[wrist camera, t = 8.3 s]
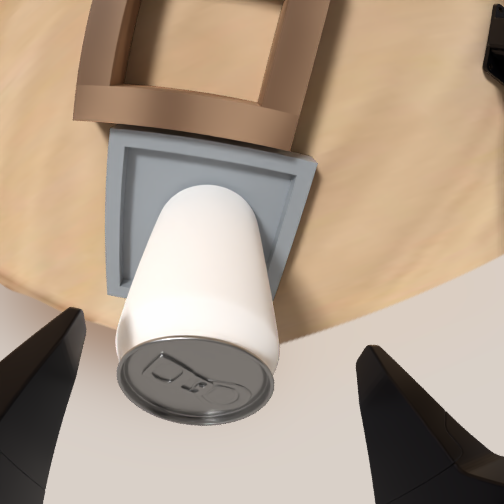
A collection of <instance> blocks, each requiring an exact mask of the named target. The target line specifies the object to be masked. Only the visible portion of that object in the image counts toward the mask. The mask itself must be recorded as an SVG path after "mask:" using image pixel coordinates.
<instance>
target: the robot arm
mask: <svg viewBox="0 0 504 504" xmlns="http://www.w3.org/2000/svg"><path fill="white" fill-rule="evenodd" d="M489 66H490V68H489ZM483 67H484V70H485V71H486V72H487V73H488V74H490V75H491V76H492V77H494V78H495V79H496V80H498V81H499V82H500V83H501V84H503V85H504V7H503V6H502V5H500V4H494V5H493V11H492V19H491V25H490V31H489V37H488V43H487V48H486V53H485V58H484V63H483ZM85 336H86V324H85V319H84V313H83V311H82V309H79V308H74V307H69V308H68V309H66V310H65V311H64V312H62V313H61V314H60V315H58V316H57V317H56V318H54V319H53V320H52V321H51V322H49V323H48V324H47V325H45V326H44V327H43V328H41V329H40V330H39V331H38V332H36V333H35V334H34V335H32V336H31V337H30V338H29V339H28V340H26V341H25V342H24V343H22V344H21V345H20V346H19V347H17V348H16V349H15V350H14V351H12V352H11V353H10V354H9V355H8V356H7V357H5V358H4V359H3V360H2V361H1V362H0V504H43V500H44V495H45V489H46V484H47V479H48V475H49V470H50V466H51V462H52V458H53V454H54V449H55V446H56V442H57V438H58V434H59V431H60V427H61V424H62V420H63V417H64V414H65V410H66V407H67V404H68V401H69V397H70V394H71V391H72V388H73V385H74V382H75V379H76V375H77V370H78V366H79V361H80V357H81V353H82V349H83V344H84V340H85ZM356 372H357V384H358V394H359V404H360V411H361V416H362V421H363V427H364V432H365V438H366V443H367V450H368V455H369V462H370V468H371V474H372V482H373V489H374V496H375V503H376V504H504V457H503V456H499V455H497V454H494V453H493V452H491V451H490V450H489V449H487V448H486V447H485V446H484V445H483V444H482V443H480V442H479V441H478V440H477V439H476V438H474V437H473V436H472V435H471V434H470V433H469V432H467V431H466V430H465V429H464V428H463V427H462V426H461V425H460V424H459V423H457V422H456V421H455V420H454V419H453V418H452V417H451V416H450V415H449V414H448V413H447V412H446V411H445V410H444V409H443V408H442V407H441V406H440V405H439V404H438V403H437V402H436V401H435V400H434V399H433V398H432V397H431V396H430V395H429V394H428V393H427V392H426V391H425V390H424V389H423V388H422V387H421V386H420V385H419V384H418V383H417V382H416V381H415V380H414V379H413V378H412V377H411V376H410V375H409V374H408V373H407V372H406V371H405V370H404V369H403V368H402V367H400V365H399V364H397V362H395V360H393V359H392V358H391V357H390V356H389V355H388V354H387V353H386V352H385V351H384V350H383V349H382V348H381V347H380V346H377V345H368V346H366V348H365V349H364V351H363V352H362V354H361V355H360V357H359V358H358V360H357V362H356Z"/></svg>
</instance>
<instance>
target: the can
mask: <svg viewBox="0 0 504 504" xmlns="http://www.w3.org/2000/svg"><path fill="white" fill-rule="evenodd" d="M115 342H116V351H117V356H118V359H119V364H118V367H117V380H118V383H119V386H120V388H121V390H122V391H123V393H124V394H125V395H126V397H127V398H128V399H129V400H130V401H131V402H133V403H134V404H135V405H136V406H138V407H139V408H141V409H143V410H144V411H146V412H148V413H150V414H152V415H154V416H156V417H159V418H162V419H165V420H168V421H172V422H176V423H181V424H187V425H200V426H201V425H202V426H205V425H206V426H207V425H219V424H226V423H231V422H235V421H238V420H241V419H244V418H246V417H248V416H250V415H252V414H254V413H256V412H257V411H259V410H260V409H261V408H262V407H263V406H265V405H266V403H267V402H268V401H269V399H270V398H271V396H272V394H273V390H274V379H273V374H274V372H275V370H276V366H277V364H278V360H279V352H280V351H279V338H278V331H277V325H276V319H275V313H274V307H273V301H272V296H271V290H270V285H269V279H268V274H267V268H266V263H265V258H264V253H263V247H262V242H261V237H260V232H259V227H258V223H257V219H256V217H255V214H254V212H253V210H252V208H251V207H250V205H249V204H248V203H247V202H246V201H245V200H244V199H243V198H242V197H241V196H240V195H238V194H237V193H235V192H233V191H231V190H229V189H227V188H224V187H221V186H216V185H197V186H193V187H189V188H187V189H184V190H182V191H180V192H179V193H177V194H176V195H174V196H173V197H172V198H171V199H170V200H169V201H168V202H167V203H166V205H165V206H164V207H163V209H162V211H161V213H160V215H159V217H158V219H157V222H156V224H155V226H154V229H153V231H152V233H151V236H150V238H149V241H148V243H147V246H146V248H145V251H144V253H143V256H142V258H141V261H140V263H139V266H138V269H137V271H136V274H135V277H134V279H133V282H132V285H131V288H130V290H129V293H128V296H127V299H126V302H125V305H124V308H123V311H122V314H121V317H120V320H119V324H118V328H117V333H116V340H115Z"/></svg>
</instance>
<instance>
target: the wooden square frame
mask: <svg viewBox="0 0 504 504" xmlns="http://www.w3.org/2000/svg"><path fill="white" fill-rule="evenodd" d="M140 4H141V0H93V1H92V5H91V9H90V13H89V17H88V22H87V26H86V31H85V36H84V41H83V46H82V52H81V58H80V64H79V70H78V77H77V85H76V93H75V102H74V113H73V120H76V121H92V122H106V123H117V124H128V125H137V126H146V127H155V128H163V129H170V130H177V131H184V132H191V133H197V134H204V135H210V136H216V137H221V138H227V139H233V140H238V141H243V142H248V143H253V144H258V145H263V146H268V147H272V148H277V149H281V150H286V151H290V150H291V146H292V143H293V139H294V135H295V132H296V128H297V124H298V120H299V117H300V113H301V109H302V106H303V102H304V98H305V95H306V91H307V87H308V83H309V80H310V76H311V72H312V68H313V65H314V61H315V57H316V53H317V49H318V46H319V42H320V38H321V34H322V30H323V27H324V23H325V19H326V15H327V11H328V7H329V4H330V0H284V2H283V5H282V9H281V13H280V17H279V20H278V24H277V28H276V32H275V36H274V39H273V43H272V47H271V51H270V55H269V59H268V63H267V67H266V71H265V75H264V79H263V83H262V87H261V91H260V95H259V99H258V103H257V102H252V101H247V100H242V99H237V98H232V97H226V96H221V95H215V94H209V93H202V92H196V91H189V90H181V89H174V88H165V87H156V86H146V85H134V84H124V80H125V74H126V68H127V63H128V57H129V52H130V47H131V42H132V38H133V33H134V29H135V24H136V20H137V16H138V12H139V8H140Z"/></svg>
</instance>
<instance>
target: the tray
mask: <svg viewBox="0 0 504 504" xmlns="http://www.w3.org/2000/svg"><path fill="white" fill-rule="evenodd" d="M317 164H318V163H317V162H316V161H315V160H314V159H313V158H312V157H311V156H307V155H303V154H299V153H295V152H290V151H286V150H281V149H277V148H272V147H268V146H263V145H258V144H253V143H248V142H243V141H238V140H233V139H227V138H221V137H216V136H210V135H204V134H197V133H191V132H184V131H177V130H170V129H163V128H155V127H146V126H137V125H128V124H117V125H115V126H113V127H111V128H110V135H109V146H108V159H107V176H106V202H105V251H106V277H107V294H108V295H111V296H117V297H122V298H127V296H128V293H129V290H130V288H131V285H132V282H133V279H134V277H135V274H136V271H137V269H138V266H139V263H140V261H141V258H142V256H143V253H144V251H145V248H146V246H147V243H148V241H149V238H150V236H151V233H152V231H153V229H154V226H155V224H156V222H157V219H158V217H159V215H160V213H161V211H162V209H163V207H164V206H165V205H166V203H167V202H168V201H169V200H170V199H171V198H172V197H173V196H174V195H176V194H177V193H179V192H180V191H182V190H184V189H187V188H189V187H193V186H197V185H216V186H221V187H224V188H227V189H229V190H231V191H233V192H235V193H237V194H238V195H240V196H241V197H242V198H243V199H244V200H245V201H246V202H247V203H248V204H249V205H250V207H251V208H252V210H253V212H254V214H255V217H256V219H257V223H258V227H259V232H260V237H261V242H262V247H263V253H264V258H265V263H266V268H267V274H268V279H269V285H270V290H271V296H272V301H273V300H274V297H275V294H276V291H277V288H278V285H279V282H280V279H281V276H282V273H283V270H284V268H285V265H286V262H287V258H288V255H289V252H290V249H291V246H292V243H293V240H294V237H295V234H296V231H297V228H298V225H299V222H300V219H301V215H302V212H303V209H304V206H305V203H306V200H307V196H308V193H309V190H310V187H311V184H312V180H313V177H314V174H315V171H316V167H317Z"/></svg>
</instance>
